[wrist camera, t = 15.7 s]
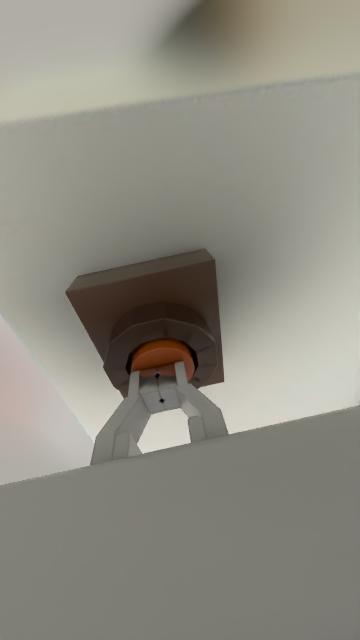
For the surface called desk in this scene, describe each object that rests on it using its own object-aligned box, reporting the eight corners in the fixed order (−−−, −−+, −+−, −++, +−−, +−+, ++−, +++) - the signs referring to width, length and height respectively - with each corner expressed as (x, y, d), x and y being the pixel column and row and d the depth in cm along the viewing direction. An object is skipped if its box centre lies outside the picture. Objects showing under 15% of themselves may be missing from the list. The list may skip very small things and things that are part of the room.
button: (125, 335, 12) (121, 356, 10) (184, 322, 12) (189, 341, 11) (142, 375, 14) (141, 397, 13) (193, 364, 14) (198, 385, 13)
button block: (77, 276, 12) (50, 309, 9) (205, 248, 12) (225, 271, 9) (128, 381, 18) (124, 425, 15) (216, 362, 18) (232, 401, 15)
